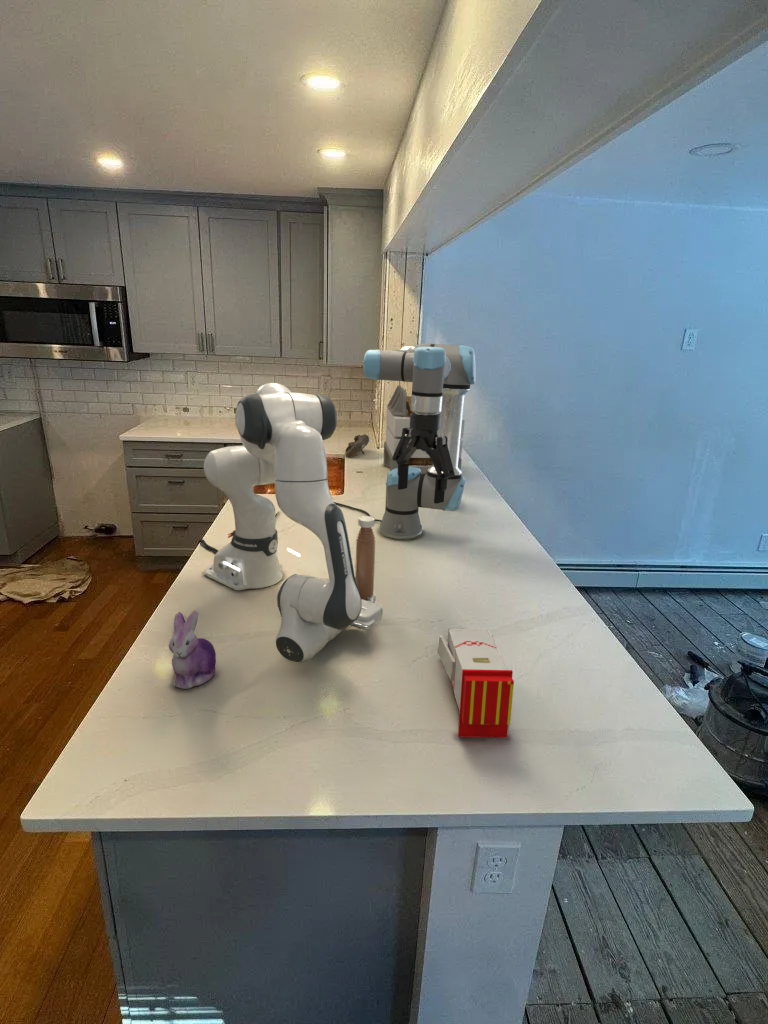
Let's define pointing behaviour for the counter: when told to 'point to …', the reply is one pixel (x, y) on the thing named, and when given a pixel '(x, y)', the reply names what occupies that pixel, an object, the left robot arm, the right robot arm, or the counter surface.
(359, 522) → the cap
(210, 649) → the figurine
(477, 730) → the toy
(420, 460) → the grey slatted box
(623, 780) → the counter surface
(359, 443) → the fossil
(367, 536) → the bottle
